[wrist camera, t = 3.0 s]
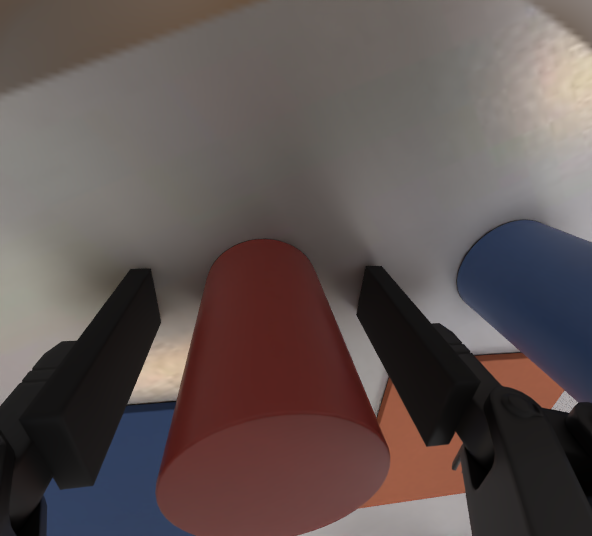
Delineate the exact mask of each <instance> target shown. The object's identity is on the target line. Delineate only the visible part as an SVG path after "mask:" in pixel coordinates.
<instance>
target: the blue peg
mask: <svg viewBox="0 0 592 536" xmlns="http://www.w3.org/2000/svg"><path fill="white" fill-rule="evenodd" d="M457 287H458V291H459V294H460V296H461V298H462V299H463V301H464V302H465V303H467V304H468V305H469V306H470V307H471V308H472V309H473V310H474V311H476V312H477V313H478V314H479V315H480V316H481V317H482V318H483V319H485V320H486V321H487V322H488V323H489V324H490V325H491V326H493V327H494V328H495V329H496V330H497V331H498V332H499V333H500V334H502V335H503V336H504V337H505V338H506V339H507V340H508V341H509V342H511V343H512V344H513V345H514V346H515V347H516V348H517V349H519V350H520V351H521V352H522V353H523V354H524V355H525V356H526V357H528V358H529V359H530V360H531V361H532V362H533V363H534V364H535V365H537V366H538V367H539V368H540V369H541V370H542V371H543V372H545V373H546V374H547V375H548V376H549V377H550V378H551V379H552V380H554V381H555V382H556V383H557V384H558V385H559V386H560V387H561V388H563V389H564V390H565V391H566V392H567V393H568V394H569V395H571V396H572V397H573V398H574V399H575V400H576V401H577V402H578V403H579V402H590V403H592V242H589V241H587V240H584V239H581V238H579V237H576V236H574V235H571V234H568V233H566V232H563V231H561V230H558V229H555V228H553V227H550V226H548V225H545V224H542V223H540V222H537V221H533V220H519V221H513V222H510V223H507V224H504V225H502V226H499V227H498V228H496V229H494V230H492V231H491V232H489V233H488V234H486V235H485V236H484V237H483V238H481V239H480V240H479V241H478V242H477V243H476V244H475V245H474V246H473V247H472V248H471V250H470V251H469V252H468V254H467V255H466V257H465V258H464V260H463V262H462V264H461V267H460V269H459V273H458V278H457Z"/></svg>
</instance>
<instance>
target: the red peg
mask: <svg viewBox="0 0 592 536" xmlns="http://www.w3.org/2000/svg"><path fill="white" fill-rule="evenodd" d="M389 468H390V452H389V447H388V445H387V443H386V440H385V438H384V435H383V433H382V430H381V428H380V426H379V423H378V421H377V418H376V416H375V414H374V411H373V409H372V406H371V404H370V402H369V399H368V397H367V394H366V392H365V390H364V387H363V385H362V382H361V380H360V378H359V375H358V373H357V370H356V368H355V366H354V363H353V361H352V358H351V356H350V354H349V351H348V349H347V346H346V344H345V342H344V339H343V337H342V334H341V332H340V330H339V327H338V325H337V322H336V320H335V318H334V315H333V313H332V310H331V308H330V306H329V303H328V301H327V298H326V296H325V293H324V291H323V289H322V286H321V284H320V281H319V279H318V277H317V274H316V272H315V270H314V267H313V265H312V264H311V262H310V261H309V259H308V258H307V257H306V256H305V255H304V254H303V253H302V252H301V251H300V250H298V249H297V248H295V247H293V246H291V245H289V244H287V243H284V242H281V241H277V240H272V239H256V240H250V241H246V242H243V243H240V244H237V245H235V246H233V247H231V248H230V249H228V250H227V251H225V252H224V253H223V254H222V255H221V256H220V257H219V258H218V259H217V260H216V261H215V262H214V264H213V265H212V267H211V269H210V271H209V273H208V276H207V280H206V284H205V288H204V292H203V296H202V300H201V304H200V308H199V312H198V316H197V320H196V324H195V328H194V332H193V336H192V340H191V344H190V349H189V353H188V357H187V361H186V365H185V369H184V373H183V377H182V381H181V385H180V389H179V393H178V397H177V401H176V405H175V409H174V413H173V417H172V421H171V425H170V429H169V433H168V437H167V441H166V445H165V450H164V454H163V458H162V462H161V466H160V470H159V474H158V478H157V482H156V490H155V494H156V500H157V504H158V507H159V509H160V511H161V512H162V514H163V515H164V516H165V518H166V519H167V520H169V521H170V522H171V523H172V524H173V525H175V526H176V527H178V528H180V529H181V530H183V531H186V532H188V533H190V534H193V535H196V536H297V535H301V534H304V533H307V532H310V531H314V530H316V529H319V528H322V527H324V526H327V525H329V524H331V523H333V522H336V521H337V520H339V519H341V518H343V517H345V516H347V515H348V514H350V513H352V512H353V511H355V510H356V509H358V508H359V507H360V506H362V505H363V504H364V503H366V502H367V501H368V500H369V499H370V498H371V497H372V496H373V495H374V494H375V493H376V492H377V491H378V490H379V488H380V487H381V485H382V484H383V482H384V481H385V479H386V477H387V474H388V471H389Z"/></svg>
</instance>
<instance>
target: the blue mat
mask: <svg viewBox="0 0 592 536" xmlns="http://www.w3.org/2000/svg"><path fill="white" fill-rule="evenodd" d="M175 405H176V402H168V403H155V404H142V405H130V406H126V408H125V411H124V413H123V415H122V418H121V420H120V423H119V425H118V428H117V430H116V432H115V435H114V437H113V440H112V442H111V445H110V447H109V449H108V452H107V454H106V457H105V459H104V461H103V464H102V466H101V469H100V471H99V474H98V476H97V478H96V481H95V483H94V486H89V487H80V488H72V489H63V490H60V489H59V487H58V486H57V484H56V482H55V481H54V479H53V478H52V480H51V481H50V483H49V485H48V487H47V489H46V491H45V493H44V495H43V496H44V497H45V500H46V504H47V536H196V535H193V534H190V533H188V532H186V531H183V530H181V529H180V528H178V527H176V526H175V525H173V524H172V523H171V522H170V521H169V520H167V519H166V518H165V516H164V515H163V514H162V512H161V511H160V509H159V507H158V504H157V500H156V494H155V490H156V482H157V478H158V474H159V470H160V466H161V462H162V458H163V454H164V450H165V445H166V441H167V437H168V433H169V429H170V425H171V421H172V417H173V413H174V409H175Z"/></svg>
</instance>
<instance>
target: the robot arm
mask: <svg viewBox="0 0 592 536" xmlns="http://www.w3.org/2000/svg"><path fill="white" fill-rule="evenodd" d="M356 315H357V317H358V319H359V321H360V323H361V324H362V326H363V328H364V330H365V332H366V334H367V336H368V338H369V339H370V341H371V343H372V345H373V347H374V349H375V351H376V353H377V355H378V356H379V358H380V360H381V362H382V364H383V366H384V368H385V370H386V372H387V373H388V375H389V377H390V379H391V381H392V383H393V385H394V387H395V389H396V390H397V392H398V394H399V396H400V398H401V400H402V402H403V404H404V405H405V407H406V409H407V411H408V413H409V415H410V417H411V419H412V421H413V422H414V424H415V426H416V428H417V430H418V432H419V434H420V436H421V438H422V439H423V441H424V443H425V445H426V447H431V446H439V445H448V444H450V442H451V440H452V438H453V436H454V434H455V432H456V433H457V435H458V436H459V438H460V439H461V441H462V442H463V444H462V445H461V447H460V449H459V451H458V453H457V455H456V457H455V458H454V460H453V462H452V470H455V471H456V469H457V468H458V466H459V464H460V462H461V467H462V471H461V473H463V479H464V486H465V492H466V498H467V505H468V511H469V518H470V524H471V530H472V536H592V403H590V402H579V403H578V404H577V405H575V407H574V408H573V409H572V410H571V412H570V413H567V412H562V411H557V410H552V409H547V408H542V407H541V406H540V405H539V404H538V403H537V402H536V401H535V400H533V399H532V398H531V397H529V396H528V395H526V394H524V393H523V392H521V391H518V390H516V389H513V388H511V387H504V386H502V385H501V384H500V383H499V382H498V381H497V380H496V379H495V378H494V377H493V375H492V374H491V373H490V372H489V371H488V370H487V369H486V368H485V367H484V366H483V365H482V364H481V362H480V361H479V360H478V359H477V358H476V357H475V356H474V355H473V354H472V353H470V351H469V349H468V348H467V347H466V346H465V345H464V344H462V342H461V341H460V340H459V339H458V338H457V336H456V335H455V334H454V333H453V332H452V331H450V330H449V329H447V328H446V327H444V326H443V325H441V324H440V323H433V324H431V323H430V322H429V321H428V319H427V318H426V317H425V316H424V315H423V314H422V312H421V311H420V310H419V309H418V308H417V307H416V305H415V304H414V303H413V302H412V301H411V300H410V298H409V297H408V296H407V295H406V294H405V293H404V292H403V290H402V289H401V288H400V287H399V286H398V285H397V283H396V282H395V281H394V280H393V279H392V278H391V276H390V275H389V274H388V273H387V272H386V271H385V269H384V268H383V267H382V266H366V268H365V273H364V278H363V283H362V288H361V294H360V299H359V304H358V309H357V314H356ZM160 324H161V320H160V314H159V309H158V304H157V299H156V294H155V288H154V283H153V278H152V273H151V269H130V271H129V272H128V273H127V275H126V276H125V277H124V279H123V280H122V281H121V283H120V284H119V285H118V287H117V288H116V289H115V291H114V292H113V293H112V295H111V296H110V297H109V299H108V300H107V301H106V303H105V304H104V305H103V307H102V308H101V309H100V311H99V312H98V313H97V315H96V316H95V317H94V319H93V320H92V321H91V323H90V324H89V325H88V327H87V328H86V329H85V331H84V332H83V334H82V335H81V336H80V338H79V339H78V340H77V341H62V342H60V343H59V344H58V345H56V346H55V347H53V348H52V349H50V350H49V351H48V352H46V353H45V354H44V355H43V356H42V357H41V358H40V360H39V361H38V362H37V363H36V364H35V366H34V367H33V368H32V371H30V372H29V373H28V374H27V375H26V376H25V377H24V379H23V380H22V383H19V385H18V386H17V387H16V388H15V389H14V391H13V392H12V393H11V394H10V395H9V396H8V398H7V399H6V400H5V401H4V402H3V404H2V405H1V406H0V536H47V504H46V500H45V497H44V496H43V495H44V493H45V491H46V489H47V487H48V485H49V483H50V481H51V480H52V478H53V479H54V481H55V482H56V484H57V486H58V487H59V489H60V490H63V489H72V488H80V487H89V486H94V483H95V481H96V478H97V476H98V474H99V471H100V469H101V466H102V464H103V461H104V459H105V457H106V454H107V452H108V449H109V447H110V445H111V442H112V440H113V437H114V435H115V432H116V430H117V428H118V425H119V423H120V420H121V418H122V415H123V413H124V411H125V408H126V406H127V403H128V401H129V399H130V396H131V394H132V391H133V389H134V386H135V384H136V382H137V379H138V377H139V374H140V372H141V370H142V367H143V365H144V362H145V360H146V357H147V355H148V353H149V350H150V348H151V345H152V343H153V341H154V338H155V336H156V333H157V331H158V328H159V326H160Z"/></svg>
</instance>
